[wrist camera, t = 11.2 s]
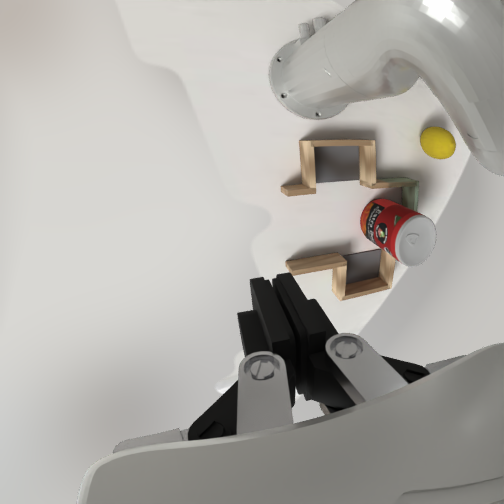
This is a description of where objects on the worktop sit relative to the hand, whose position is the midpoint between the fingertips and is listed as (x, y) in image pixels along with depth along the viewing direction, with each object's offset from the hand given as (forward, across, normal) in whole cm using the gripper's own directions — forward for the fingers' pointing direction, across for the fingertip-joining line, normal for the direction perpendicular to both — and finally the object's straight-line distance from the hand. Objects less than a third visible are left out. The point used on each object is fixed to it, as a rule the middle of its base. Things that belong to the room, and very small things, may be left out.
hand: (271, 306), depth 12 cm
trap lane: (+29, -19, +7) cm, 35 cm away
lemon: (+29, -35, -6) cm, 46 cm away
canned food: (+29, -25, +8) cm, 39 cm away
